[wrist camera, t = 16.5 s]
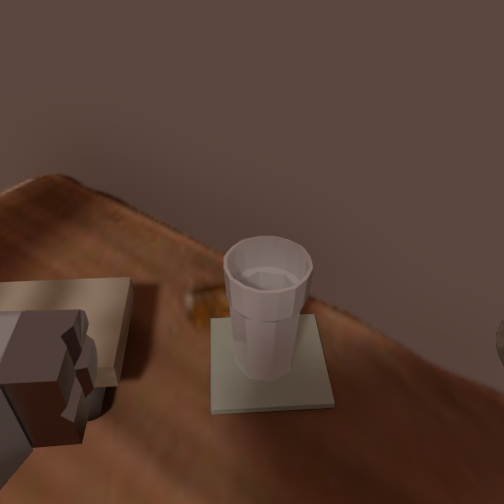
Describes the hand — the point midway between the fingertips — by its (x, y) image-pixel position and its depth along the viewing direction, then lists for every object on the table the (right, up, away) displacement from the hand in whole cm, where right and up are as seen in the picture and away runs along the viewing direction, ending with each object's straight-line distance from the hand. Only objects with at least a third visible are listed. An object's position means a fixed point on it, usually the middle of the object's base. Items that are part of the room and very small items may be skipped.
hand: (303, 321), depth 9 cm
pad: (0, -8, +34) cm, 35 cm away
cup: (0, -8, +34) cm, 35 cm away
